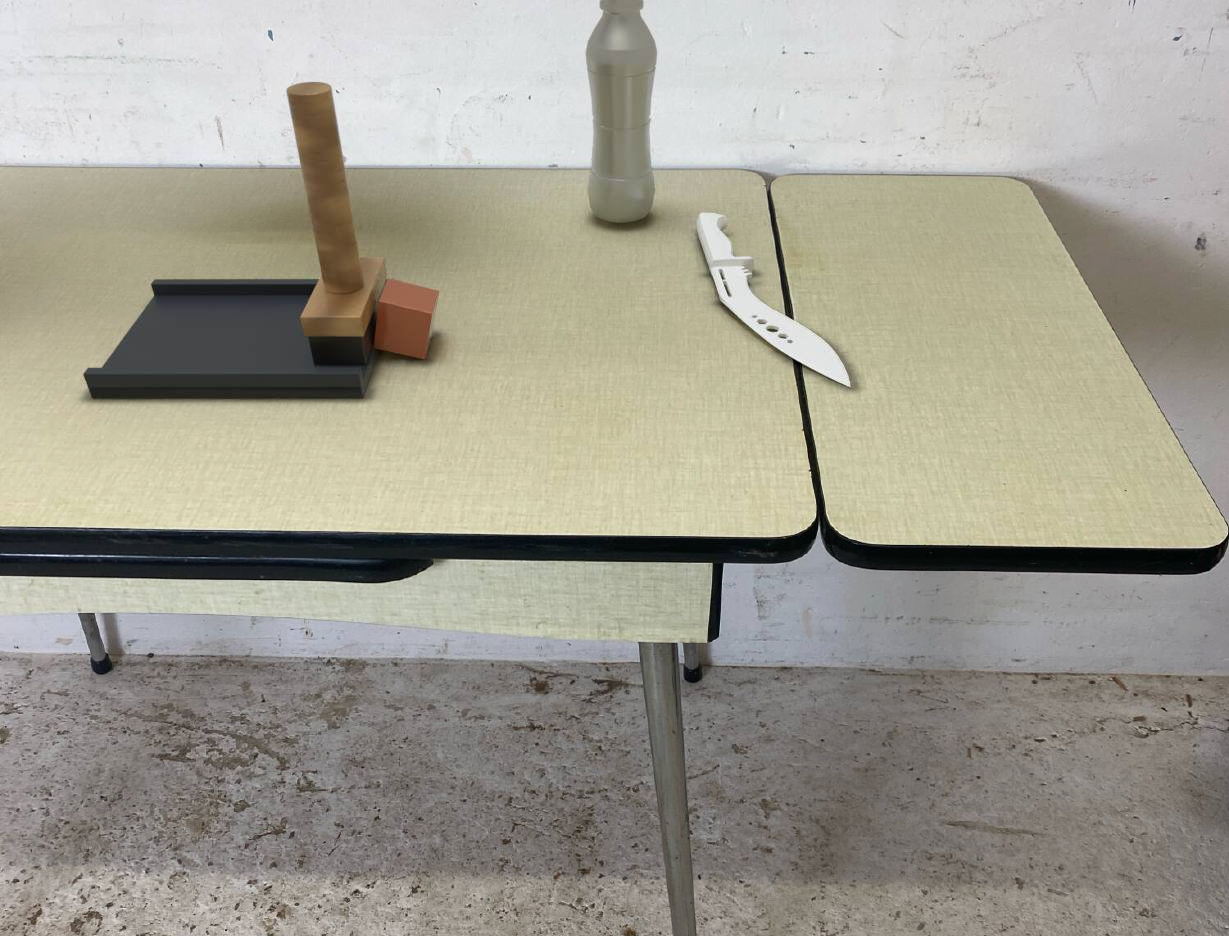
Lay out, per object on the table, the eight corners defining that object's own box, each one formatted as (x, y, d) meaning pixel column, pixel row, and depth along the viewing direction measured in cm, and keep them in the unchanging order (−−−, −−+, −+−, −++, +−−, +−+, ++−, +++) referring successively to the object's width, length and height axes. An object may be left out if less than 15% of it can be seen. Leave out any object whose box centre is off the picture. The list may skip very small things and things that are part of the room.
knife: (855, 377, 79) (751, 380, 79) (851, 396, 80) (749, 400, 80) (775, 208, 101) (693, 210, 100) (773, 226, 102) (692, 227, 101)
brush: (310, 366, 81) (256, 112, 69) (338, 304, 88) (294, 66, 76) (369, 366, 80) (325, 112, 69) (391, 304, 88) (356, 66, 76)
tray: (91, 398, 79) (82, 374, 78) (161, 301, 91) (154, 278, 90) (363, 398, 79) (358, 373, 78) (396, 301, 91) (393, 278, 90)
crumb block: (373, 348, 83) (378, 300, 80) (381, 324, 86) (387, 277, 83) (424, 360, 83) (432, 313, 81) (431, 335, 86) (439, 290, 84)
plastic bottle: (659, 206, 106) (665, -24, 93) (648, 233, 101) (653, -6, 88) (595, 202, 107) (591, -27, 94) (581, 229, 102) (576, -9, 89)
